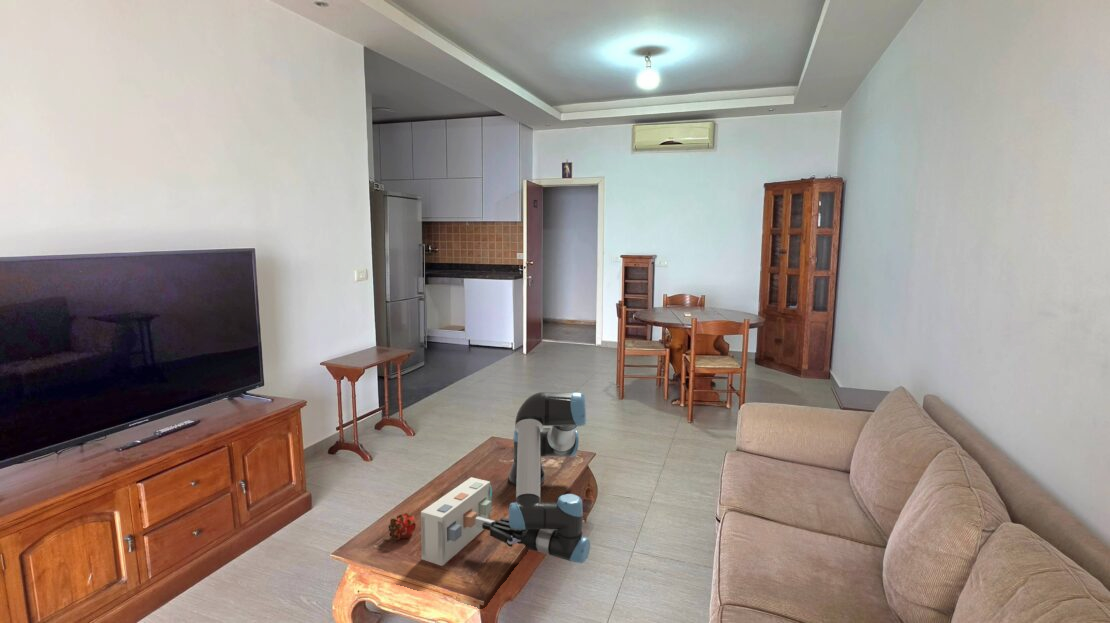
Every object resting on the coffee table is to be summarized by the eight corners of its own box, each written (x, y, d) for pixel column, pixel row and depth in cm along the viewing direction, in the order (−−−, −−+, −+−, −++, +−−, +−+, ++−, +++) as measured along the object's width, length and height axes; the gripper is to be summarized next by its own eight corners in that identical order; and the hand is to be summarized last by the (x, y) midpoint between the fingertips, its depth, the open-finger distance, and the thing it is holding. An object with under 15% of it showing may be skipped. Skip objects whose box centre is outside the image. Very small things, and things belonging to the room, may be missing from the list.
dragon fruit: (389, 550, 182) (410, 536, 193) (408, 538, 180) (428, 526, 191) (378, 526, 183) (399, 514, 195) (397, 515, 181) (416, 503, 193)
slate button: (448, 531, 177) (448, 521, 177) (461, 535, 175) (461, 525, 175) (441, 537, 174) (441, 526, 173) (454, 541, 172) (454, 530, 171)
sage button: (479, 507, 193) (479, 497, 193) (491, 510, 191) (491, 501, 191) (473, 512, 190) (473, 502, 190) (485, 515, 188) (485, 505, 187)
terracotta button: (464, 519, 185) (464, 509, 185) (477, 522, 183) (477, 512, 183) (458, 524, 182) (458, 513, 181) (471, 527, 180) (471, 517, 179)
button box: (471, 519, 199) (471, 476, 197) (490, 524, 196) (490, 480, 194) (421, 559, 174) (420, 510, 172) (442, 566, 171) (441, 516, 169)
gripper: (531, 561, 166) (465, 541, 175) (549, 539, 177) (487, 522, 187) (531, 537, 165) (465, 519, 174) (550, 518, 176) (487, 501, 186)
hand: (476, 521), depth 181 cm, fingers closed
